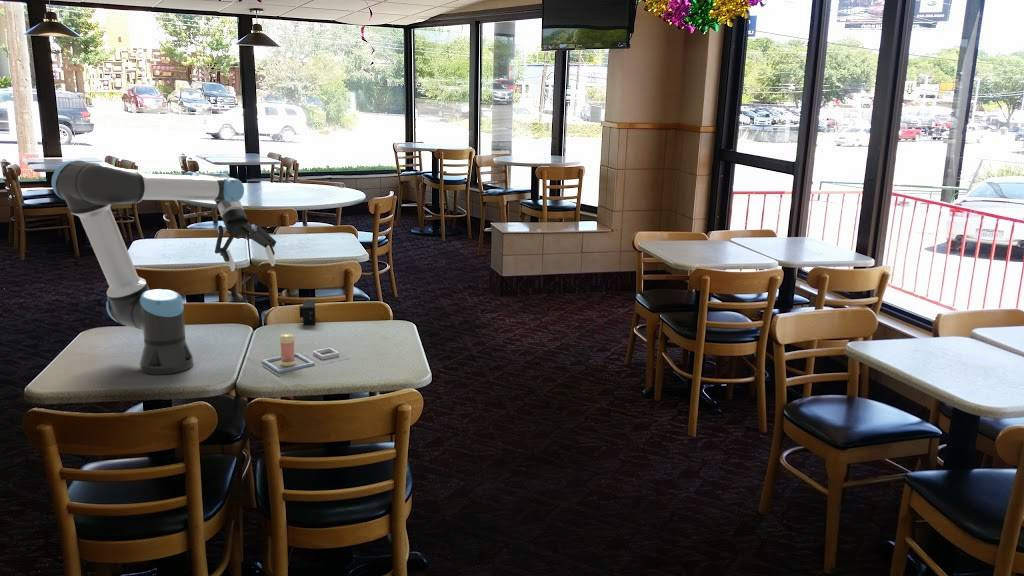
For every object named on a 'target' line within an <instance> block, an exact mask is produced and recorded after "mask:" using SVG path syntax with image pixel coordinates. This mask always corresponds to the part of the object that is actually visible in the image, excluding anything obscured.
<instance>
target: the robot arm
mask: <svg viewBox="0 0 1024 576" xmlns="http://www.w3.org/2000/svg"><path fill="white" fill-rule="evenodd" d="M51 187H52V190H53V192H54V193H55V194H56V196H57V197H58V198H60V199H62V200H64V201H65V203H66V204H67V207H68V208H69V211H70V214H72V215H74V216H77V217H78V218H79V220H80V222H81V224H82V227H83V229H84V231H85V234H86V236H87V238H88V240H89V243H90V245H91V247H92V250H93V252H94V254H95V257H96V258H97V261H98V263H99V265H100V268H101V271H102V273H103V275H104V277H105V279H106V282H107V285H108V288H107V290H106V296H107V298H106V299H107V301H106V303H105V307H106V312H107V314H108V316H109V317H110V318H111V319H112V320H113V321H115V322H116V323H118V324H120V325H122V326H126V327H131V328H135V329H138V330H142V332H143V341H144V346H143V349H142V354H141V356H140V360H139V369H140V372H141V373H144V374H148V375H156V376H157V375H159V376H161V375H163V376H164V375H172V374H177V373H181V372H184V371H186V370H189V369H191V368H192V367H193V366H194V356H193V353H192V352H191V349H190V347H189V345H188V343H187V340H186V325H185V314H184V313H185V312H184V310H185V307H184V303H183V298H182V296H181V294H180V293H178V292H177V291H174V290H171V289H163V288H157V289H156V288H155V289H150V287H149V286H148V283H147V281H146V279H145V278H142V277H140V276H139V275H138V273H137V270H136V268H135V266H134V263H133V261H132V257H131V255H130V253H129V250H128V248H127V246H126V244H125V241H124V239H123V236H122V234H121V231H120V228H119V226H118V224H117V222H116V220H115V215H114V214H113V212H112V210H111V206H112V205H119V204H138V203H140V202H142V201H143V200H144V201H145V200H146V201H149V200H150V201H154V200H155V201H211V202H212V201H213V202H215V204H216V206H217V210H218V212H219V214H220V217H221V219H222V222H223V224H224V226H222V225H220V224H219V225H218V228H217V230H216V231H217V239H216V242H215V243H216V244H215V248H214V253H215V254H220V256H222V258H223V261H224V262H225V263H228V267H229V269H230V271H231V272H234V270H235V269H236V264H235V261H234V259H233V256H232V253H231V251H230V249H229V246H230V245H231V243H232V242H233V240H234V239H237V240H238V239H246V238H247V239H248V240H252V241H254V242H255V243H256V244H259V245H260V246H262V247H263V248H265V251H264V252H265V253H266V256H267V258H268V261H269V263H270V266H271V267H274V266H275V264H276V263H277V261H276V258H275V254H276V253H275V249H274V248H275V246H276V244H277V240H276V239H274V238H273V237H272V236H271V235H270V234H269V233H268V232H267V231H266V230H265V229H264V228H262V226H261V225H260V223H259V222H257V221H256V222H255V223H253V224H250V222H249V219H248V216H247V215H246V212H245V210H244V209H245V208H244V207H243V205H242V202H241V200H242V198H243V197H244V193H245V187H244V184H243V182H242V181H241V180H240V179H238V178H234V177H230V176H229V175H228V174H227V173H224V172H221V173H218V172H217V173H215V174H212V175H210V174H202V173H197V172H193V171H186V172H184V173H183V174H182V175H181V174H165V173H164V174H161V173H159V174H158V173H142V172H141V171H140V170H138V169H133V168H132V169H131V168H129V169H128V168H123V167H118V166H114V165H113V166H112V165H110V164H109V165H108V164H105V163H100V162H99V163H97V162H88V161H84V160H80V159H79V160H67V161H65V162H62V163H61V164H60V165H58V166H57V167H56V168H55V170H54V172H53V174H52V175H51ZM225 232H226V233H227V234H228V235H229V236H228V238H227V239H226V242H225V243H224V245H223V247H221V246H222V243H223V242H222V241H223V236H224V234H225Z"/></svg>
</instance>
